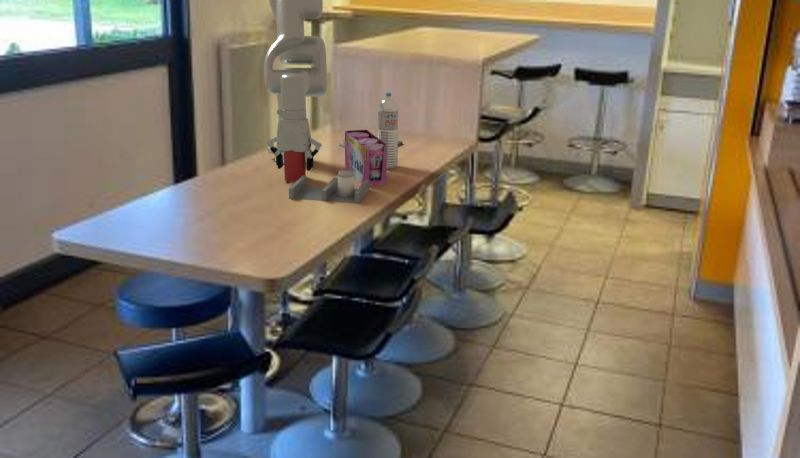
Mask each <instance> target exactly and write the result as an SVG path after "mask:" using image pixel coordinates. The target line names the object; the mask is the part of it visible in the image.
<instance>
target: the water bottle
mask: <svg viewBox="0 0 800 458" xmlns="http://www.w3.org/2000/svg"><path fill="white" fill-rule="evenodd" d="M399 108H400V107H399V104H398V103H397V101H396V100H395V99H394V98H392V93H391V92H385V97H384V98H383V99H382V100H381V101H380V102H379V104H378V105H377V116H378V117H377V137H378V139H380V140H381V141H383V142H384V143H385V144H386V145H387V170H393V169H396V168H397V166H398V163H399V162H398V159H399V158H398V155H399V154H398V153H399V151H398V150H399V148H398V147H399V146H398V141H399Z"/></svg>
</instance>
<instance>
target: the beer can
mask: <svg viewBox="0 0 800 458" xmlns="http://www.w3.org/2000/svg"><path fill="white" fill-rule="evenodd" d="M283 168H284V170H283V172H284V181H285V182H286V183H288V184H289V183H291V182H296V181H297V180H298V179H299V178H301V177H302V176H307V175H306V174H307V173H306V171H307V167H306V163H305V152H303V153H301V152H295V151H293V150H290V151H287V152H284V164H283Z"/></svg>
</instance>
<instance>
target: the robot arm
mask: <svg viewBox="0 0 800 458" xmlns="http://www.w3.org/2000/svg"><path fill="white" fill-rule="evenodd" d="M268 2H269V6H270V9H271V12H272V15H273V16H274V20H275V23H276V31H277V32H276V34H277V37H276V40H275V41H274V43H272V44H271V46H270V47H269V48H268V50H267V52H266V54H265V57H264V61H263V77H264V79H263V80H264V87H265V90H266V91H267V93H269V94H271V95H276V101H277V110H276V115H277V117H278V118H277V119H278V121H277V131H276V136H275V137H273V138H272V139H270V140H268V141H266V143H267V145H268V148H267V152H268V153H269V155H274V160H275V163H276V166H277V169H278V170H280V169H282V168H284V152H287V151H290V150H293V151H295V152H301V153H303V152H305V164H306V171H308V172H310V171H311V170H312V169H313V168H314V157H315V156H316V155H317V154H318V153H319V152H320V150H321V148H322V143H321V142H320V141H317V140H316V139H314V138H313V137H312V133H311V128H310V127H311V126H310V122H309V119H308V118H307V117H308V116H307V106H306V105H307V103H306V98H307V97H308V98H309V97H311V98H312V97H317V98H318V97H324V96H325V95H326V93H327V91H328V70H327V68H328V67H327V65H328V64H327V49H326V43H325V42H324V39H323V38H322V37H320V36H317V35H305V21H304V20H318V19H319V20H320V18H321V17H322V15H323V9H324V8H323V7H324V2H323V0H268ZM277 58H278V60H279V62H280V63H282V64H283V65H290V66H292V65H293V66H311V67H284V68H280V69H274V62H275V60H276V59H277ZM275 143H276V146H275ZM312 145H313V146H314V147H315V148H314V150H312V148H311V147H312Z"/></svg>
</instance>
